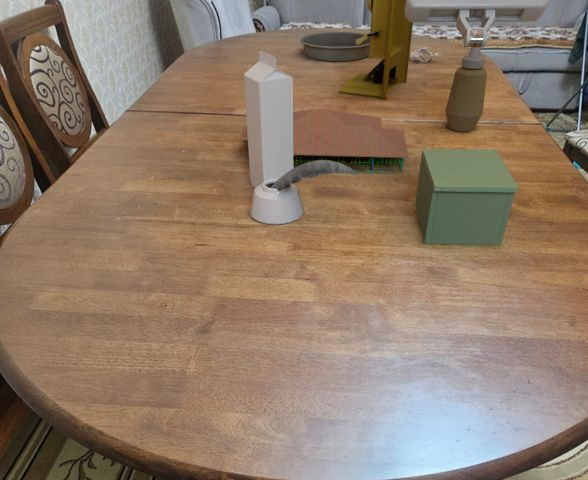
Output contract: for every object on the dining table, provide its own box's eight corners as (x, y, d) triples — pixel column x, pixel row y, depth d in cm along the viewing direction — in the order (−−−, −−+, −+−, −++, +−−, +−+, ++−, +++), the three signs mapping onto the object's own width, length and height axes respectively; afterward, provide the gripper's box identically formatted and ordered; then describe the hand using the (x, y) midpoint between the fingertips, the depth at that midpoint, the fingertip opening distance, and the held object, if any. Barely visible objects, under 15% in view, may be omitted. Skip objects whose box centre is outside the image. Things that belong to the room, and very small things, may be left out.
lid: (517, 192, 77) (518, 187, 76) (433, 191, 77) (434, 186, 77) (494, 154, 88) (495, 149, 87) (421, 153, 88) (422, 148, 88)
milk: (264, 197, 97) (257, 60, 83) (250, 185, 101) (241, 52, 87) (294, 190, 99) (292, 55, 85) (279, 178, 103) (275, 47, 89)
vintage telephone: (368, 71, 163) (377, -53, 144) (414, 76, 158) (429, -52, 139) (328, 100, 142) (332, -42, 122) (379, 106, 137) (392, -41, 118)
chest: (501, 245, 83) (515, 190, 77) (424, 243, 84) (433, 189, 78) (483, 206, 93) (494, 154, 88) (414, 204, 94) (421, 153, 88)
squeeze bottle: (478, 123, 126) (495, 34, 115) (480, 134, 120) (499, 42, 109) (442, 121, 127) (456, 33, 116) (443, 133, 121) (458, 41, 110)
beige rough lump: (415, 51, 167) (409, 44, 171) (413, 66, 170) (407, 59, 174) (440, 49, 167) (434, 43, 172) (438, 64, 170) (431, 57, 175)
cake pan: (368, 45, 191) (369, 30, 188) (380, 62, 172) (381, 46, 169) (298, 46, 190) (297, 32, 187) (302, 63, 171) (302, 47, 168)
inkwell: (259, 198, 97) (256, 141, 90) (360, 209, 93) (364, 151, 86) (241, 221, 90) (237, 161, 83) (349, 235, 86) (352, 173, 79)
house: (253, 130, 124) (251, 92, 119) (400, 133, 121) (404, 94, 116) (235, 169, 107) (232, 126, 101) (406, 174, 104) (411, 130, 99)
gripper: (538, -28, 83) (539, 58, 82) (403, -27, 84) (402, 58, 83) (556, -63, 77) (557, 30, 76) (410, -61, 78) (409, 30, 77)
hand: (475, 45), depth 79 cm, fingers closed
